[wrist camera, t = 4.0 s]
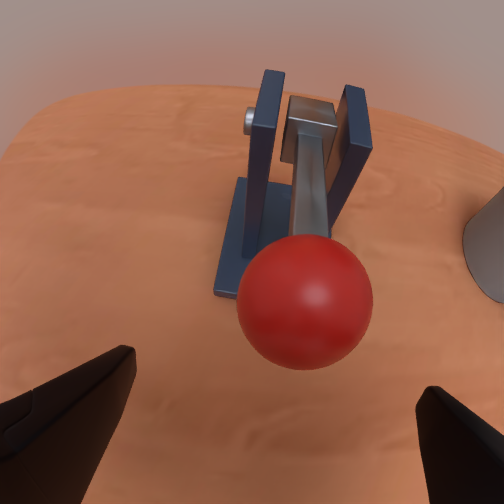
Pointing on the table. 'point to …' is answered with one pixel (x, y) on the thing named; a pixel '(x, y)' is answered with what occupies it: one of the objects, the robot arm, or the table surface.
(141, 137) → the table surface
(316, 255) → the lever
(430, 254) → the table surface
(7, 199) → the table surface
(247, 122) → the lever stand
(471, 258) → the coffee mug
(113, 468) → the table surface
